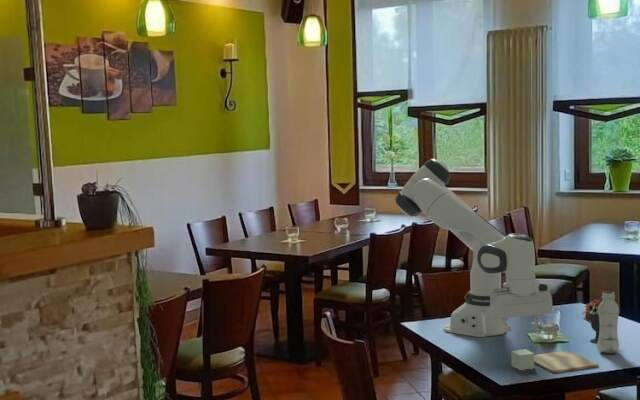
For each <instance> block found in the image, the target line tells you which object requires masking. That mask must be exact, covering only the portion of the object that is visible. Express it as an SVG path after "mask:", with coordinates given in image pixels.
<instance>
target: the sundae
mask: <svg viewBox="0 0 640 400" xmlns="http://www.w3.org/2000/svg"><path fill="white" fill-rule="evenodd" d="M601 299H602V300H603V298H601ZM600 303H601V302H600ZM600 303H598V305H594V306H591V305H590V311H589V312H588V314H589V315H590V318H589V319H590V326H591V328H592V331H594V332H595V337H594V338H592V339H590V341H589V342H590V343H594V344H597V343H598V338H599V330H600V324H599V314H598V306H599V304H600Z"/></svg>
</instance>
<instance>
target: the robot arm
mask: <svg viewBox="0 0 640 400" xmlns="http://www.w3.org/2000/svg"><path fill="white" fill-rule="evenodd" d="M450 179H451V172H450V169H449V168H448V166H447V165H446V164H445V163H444V162H442V161H441V160H437V159H435V158H430V159H429V160H427V161H425V162H424V163H423V165H422V166H421V167H420V168H418V169H417V170H416V171H415V172H414V173H413V175H411V177H410V178H409V180H408V181H407V182H406V183H405V184H404V185H403V187H402V189H401V190H400V191H399V192H398V193H397V194H396V197H395V203H396V205H397V207H398V209H399V210H400V211H401V212H402V213H403V214H405V215H407V216H410V217H416V216H418V215H419V214H421V213H423V214H424V215H425V216H426V217H427V218H428V219H429V220H430V221H431V222H432V223H433V224H435V225H436V226H438V227H439V228H441V229H443V230H448V231H450V232H451V233H452V234H453V235H455V237H457V238H458V239H459V241H461V242H462V243H464V245H465V246H467V247H468V248H469V249H470V250H471V251H472V252H473V253H472V254H473V255H472V256H473V258H472V262H471V263H472V264H471V269H470V272H469V276H470V277H469V278H470V280H469V281H470V283H469V284H470V290H468V291H467V292H466V294H465V296H464V300H465V302H464V303H463V304H461V305H460V306H459V307H458V308H456V309H455V310H453V312H452V313H451V315H450V320H449V322H448V323H446V324H445V325H444V327H443V332H446V333H451V334H458V335H462V336H471V337H477V338H484V337H491V336H498V335H503V334H505V333H509V332H512V326H511V325H510V324H508V323H507V322H508V320H509V319H510V318H518V317H528V316H534V319H533V321H531V322H530V326H531V327H530V328H531V329H533V330H534V329H539V323H540V321H541V319H542V315H545V314H547V315H548V314H550V313H551V312H552V311H553V296H552V294H551V292H550V291H551V285H550V284H548V283H547V282H543V281H540V280H538V279H536V274H535V265H536V252H535V245H534V244H535V243H534V240H533V238H532V237H530V236H529V235H527V234H524V233H517V232H514V233H513V232H512V233H508V234H505V233H503V232H502V231H500V229H498V228H497V227H495V226H494V225H493V224H492V223H491V222H489V221H488V220H487V219H485V218H484V217H483V216H481V215H480V214H478V213H477V212H476V211H474V209H473V208H471V207H470V206H469V205H468V204H467V203H466V202H465V201H464V200H462V199H461V198H460V197H459V196H458V195H457V194H456V193H454V192H453V191H452V190H451V189H450V188H448V187H447V186H446V185H449V182H450ZM502 273H504V274H505V287H502Z"/></svg>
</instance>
